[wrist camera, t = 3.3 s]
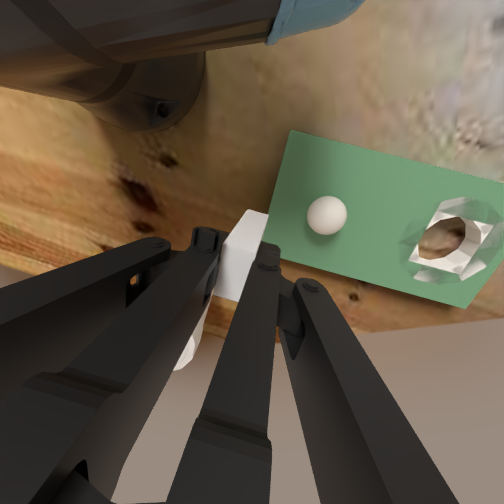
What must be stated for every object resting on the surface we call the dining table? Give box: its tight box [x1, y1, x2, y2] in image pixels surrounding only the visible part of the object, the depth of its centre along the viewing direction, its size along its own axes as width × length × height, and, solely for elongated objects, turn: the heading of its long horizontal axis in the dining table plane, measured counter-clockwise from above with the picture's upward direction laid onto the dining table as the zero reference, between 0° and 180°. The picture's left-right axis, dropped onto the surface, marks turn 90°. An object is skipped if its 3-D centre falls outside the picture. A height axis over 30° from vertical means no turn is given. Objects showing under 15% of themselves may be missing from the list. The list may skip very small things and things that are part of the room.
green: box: [262, 130, 504, 309], centre depth 28 cm, size 26×14×2 cm, turn 77°
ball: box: [307, 196, 347, 235], centre depth 25 cm, size 4×4×4 cm
